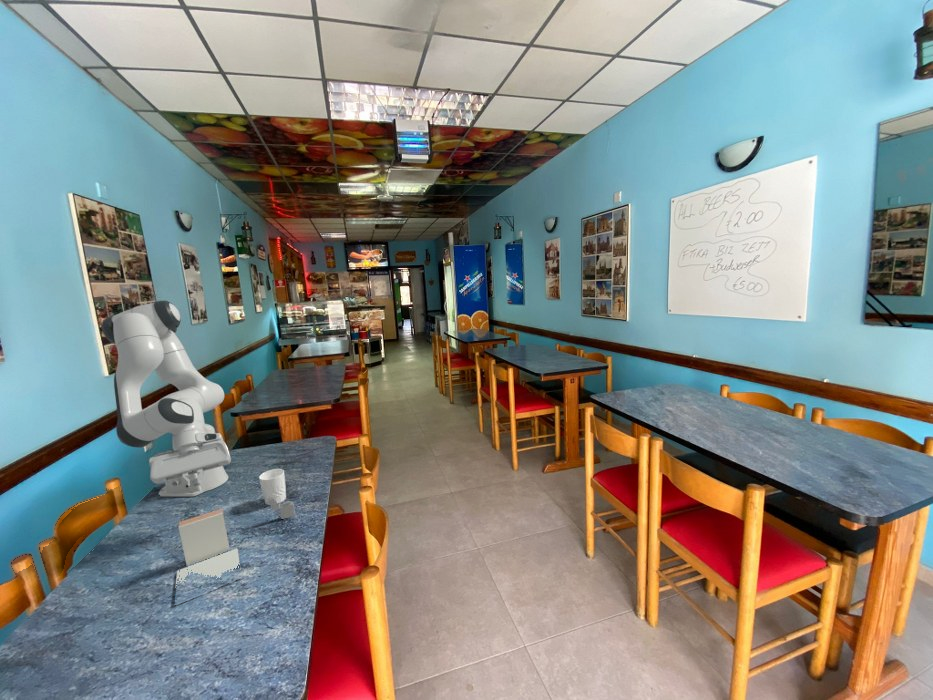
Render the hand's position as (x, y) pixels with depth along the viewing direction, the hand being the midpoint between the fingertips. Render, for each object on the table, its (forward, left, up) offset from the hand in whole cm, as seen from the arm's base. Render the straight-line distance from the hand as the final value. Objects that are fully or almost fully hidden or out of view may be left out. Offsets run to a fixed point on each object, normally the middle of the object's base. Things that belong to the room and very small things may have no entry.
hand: (194, 486), depth 115 cm
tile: (+7, -10, -17) cm, 21 cm away
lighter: (+22, +5, -17) cm, 28 cm away
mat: (+11, -19, -17) cm, 27 cm away
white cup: (+15, +17, -17) cm, 28 cm away
